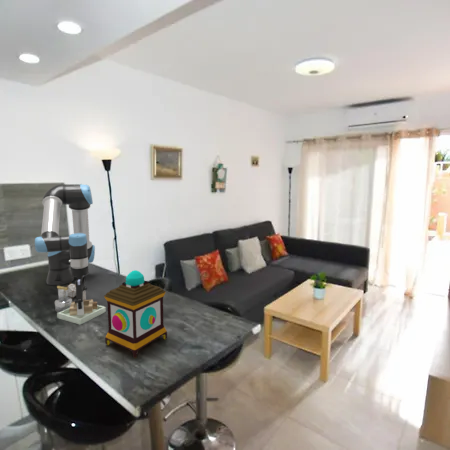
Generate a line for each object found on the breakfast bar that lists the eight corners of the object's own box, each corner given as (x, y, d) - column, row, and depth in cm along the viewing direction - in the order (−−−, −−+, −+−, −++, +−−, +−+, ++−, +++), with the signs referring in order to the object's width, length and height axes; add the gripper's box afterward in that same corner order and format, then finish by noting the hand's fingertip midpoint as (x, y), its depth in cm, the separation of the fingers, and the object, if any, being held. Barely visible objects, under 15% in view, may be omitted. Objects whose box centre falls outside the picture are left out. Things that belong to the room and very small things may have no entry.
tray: (84, 306, 152) (83, 301, 152) (106, 311, 147) (105, 306, 146) (57, 318, 139) (57, 313, 139) (80, 324, 133) (80, 319, 133)
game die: (76, 303, 165) (87, 289, 165) (63, 303, 158) (74, 288, 157) (69, 292, 169) (79, 278, 169) (56, 291, 162) (66, 277, 161)
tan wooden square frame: (72, 307, 145) (71, 301, 145) (97, 304, 149) (97, 298, 149) (69, 315, 136) (69, 309, 136) (96, 312, 140) (96, 306, 140)
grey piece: (65, 304, 154) (64, 283, 152) (75, 307, 151) (74, 285, 149) (51, 310, 147) (50, 288, 146) (62, 313, 144) (60, 290, 143)
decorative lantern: (134, 362, 106) (131, 282, 102) (99, 346, 116) (96, 272, 112) (172, 338, 123) (171, 268, 118) (139, 325, 133) (137, 260, 129)
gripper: (73, 260, 149) (76, 300, 152) (67, 275, 126) (70, 321, 129) (89, 259, 152) (91, 298, 155) (86, 273, 129) (88, 319, 132)
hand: (82, 309), depth 142 cm, fingers open, 13 cm apart
